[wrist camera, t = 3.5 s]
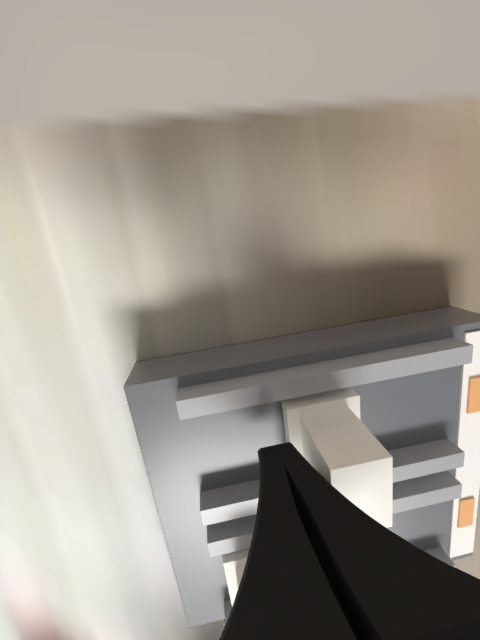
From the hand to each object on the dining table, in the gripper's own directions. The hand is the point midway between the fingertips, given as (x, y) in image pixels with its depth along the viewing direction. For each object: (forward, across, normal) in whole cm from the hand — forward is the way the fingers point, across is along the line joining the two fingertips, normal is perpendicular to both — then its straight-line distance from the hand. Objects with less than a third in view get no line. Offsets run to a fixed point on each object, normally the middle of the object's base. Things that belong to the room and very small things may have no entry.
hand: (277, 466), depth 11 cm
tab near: (+2, -2, 0) cm, 3 cm away
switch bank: (+4, -3, +4) cm, 6 cm away
